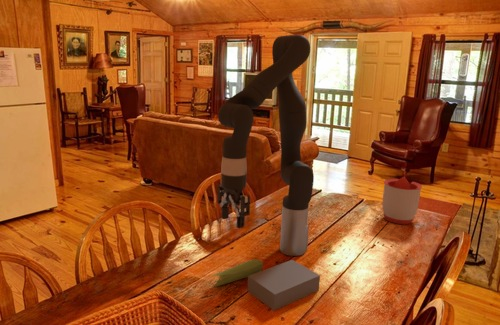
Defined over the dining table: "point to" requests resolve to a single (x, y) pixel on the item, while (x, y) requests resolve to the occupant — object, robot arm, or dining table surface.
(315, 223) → the dining table surface
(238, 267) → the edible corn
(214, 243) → the dining table surface
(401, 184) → the citrus juicer
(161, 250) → the dining table surface
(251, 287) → the plinth
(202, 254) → the dining table surface
